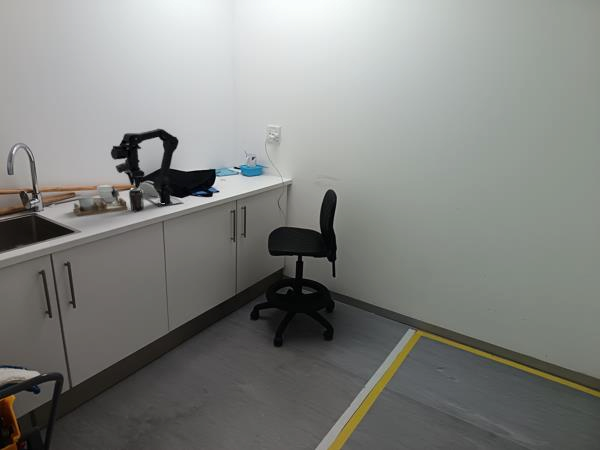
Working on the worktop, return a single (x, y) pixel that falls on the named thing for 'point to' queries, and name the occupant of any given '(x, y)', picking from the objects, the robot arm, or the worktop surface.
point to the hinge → (149, 188)
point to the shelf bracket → (108, 193)
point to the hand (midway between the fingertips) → (134, 186)
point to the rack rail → (97, 206)
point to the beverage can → (136, 199)
